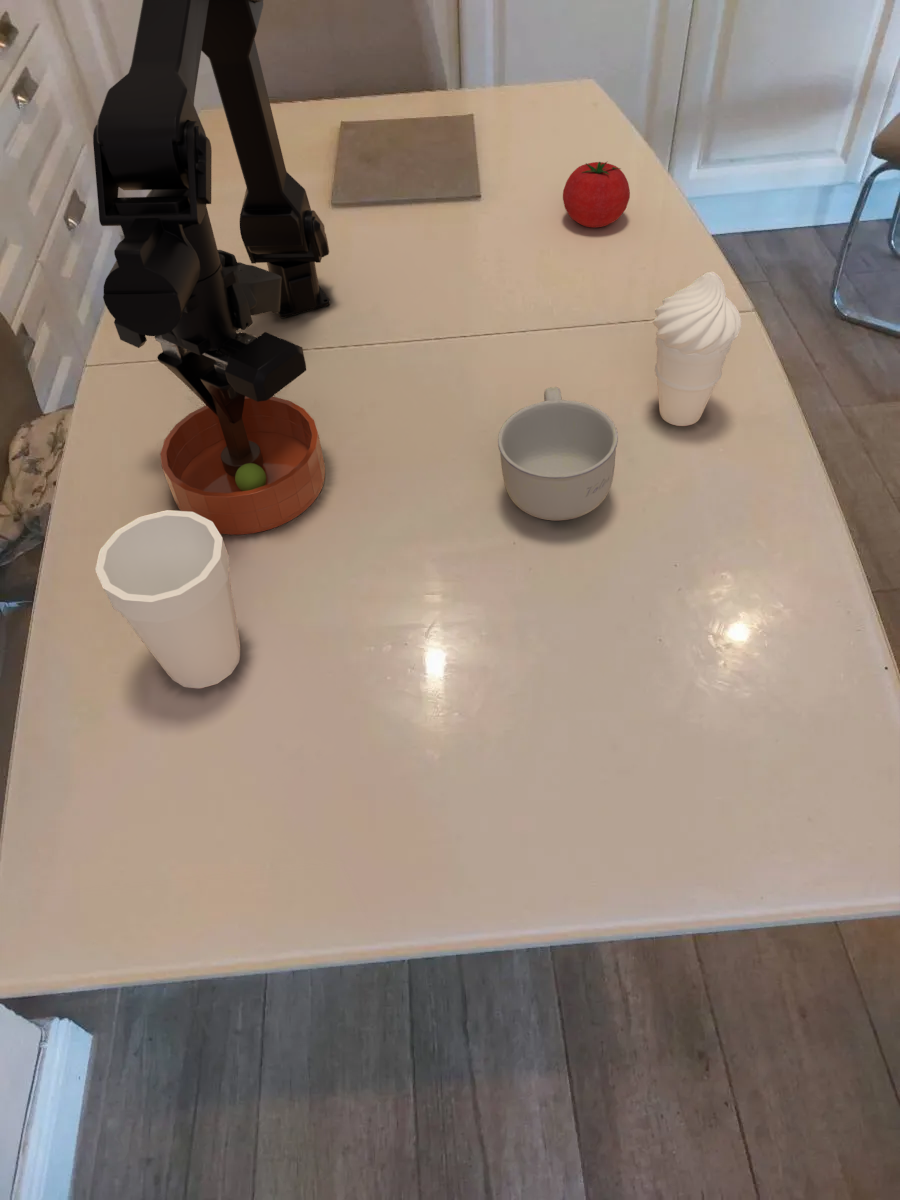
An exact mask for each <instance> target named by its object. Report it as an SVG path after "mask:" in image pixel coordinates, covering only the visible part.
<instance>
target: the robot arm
mask: <svg viewBox="0 0 900 1200" xmlns="http://www.w3.org/2000/svg"><path fill="white" fill-rule="evenodd" d="M263 9H264V0H142V3H141V7H140V14H139V18H138V25H137V31H136V36H135V42H134V48H133V52H132V59H131V64H130V67H129V70H128V72H127V74H126V75H124V77H122V78H121V79H120V80H118V81H117V82H116V83H115V84H114V85H112V86H111V87H110V88H109V89H108V91H107V93H106V94H105V98H104V100H103V103H102V107H101V109H100V112H99V115H98V118H97V123H96V125H95V127H94V128H93V134H92V138H93V139H92V144H93V146H92V147H93V156H94V169H95V170H94V171H95V183H96V193H97V194H96V196H97V205H98V207H97V208H98V220H99V224H100V226H102V227H120V228H121V230H122V234H123V237H124V238H123V239H122V240H121V241H120V242H118V243H117V245H116V247H115V249H114V251H113V253H114V257H115V262H114V264H113V265H112V267H111V269H110V270H109V273H108V274H107V276H106V277H105V280H104V283H103V296H102V298H103V302H104V305H105V306H106V309H107V310H108V313H110V315H111V316H112V318H113V319H114V321H113V323H114V326H115V329H116V332H117V335H118V338H119V340H120V341H122V342H125V343H127V344H128V345H131V346H133V347H135V348H138V349H140V348H141V347H143V346H144V345H145V344H146V342H147V341H148V339H147V337H154V339H155V340H154V341H156V342H158V343H159V344H160V346H161V350H162V352H160V353H158V355H157V361H158V362H159V363H160V364H162V365H164V366H165V367H166V368H167V369H168V370H169V371H170V372H171V373H172V374H174V376H176V377H177V378H178V379H179V380H180V381H181V382H182V383H183V384H184V385H185V386H187V388H188V389H189V390H190V391H192V392H193V394H194V395H195V396H197V398H199V400H200V401H202V403H204V404H205V406H206V405H207V406H208V407H209V408H210V409H211V410H212V411H213V412H214V413H215V414H216V415H217V412H216V408H215V405H214V402H213V398H214V400H215V401H216V402H217V404H218V405H219V407H220V408H221V410H222V411H223V413H224V414H225V415H226V416H227V418H228V419H229V420H230V421H231V422H232V423H234V424H235V423H237V422H238V421H239V420H240V419H241V418H242V413H243V407H244V400H245V396H246V397H248V398H251V399H253V400H255V401H257V402H260V401H267V400H268V399H270V398H271V397H272V396H273V397H275V395H276V394H277V393H279V392H281V391H282V390H283V389H284V388H285V387H287V386H288V385H289V384H291V383H292V382H293V381H295V380H296V379H297V378H298V377H300V376H301V375H302V374H304V373H305V372H306V371H307V363H306V358H305V353H304V348H303V347H302V346H300V345H298V344H296V343H293V342H291V341H289V340H287V339H285V338H281V337H279V336H276V335H274V334H271V333H269V332H267V331H264V332H263V333H261V334H260V335H259V336H257V337H256V336H254V335H251V334H249V333H246V332H238V330H243V331H244V330H246V329H247V328H249V327H250V326H253V324H254V322H253V317H252V316H257V315H263V314H267V313H271V314H277V315H278V316H279V317H280V318H281V319H285V318H288V317H292V316H296V315H299V314H302V313H306V312H310V311H314V310H316V309H317V310H318V309H319V308H323V307H327V306H329V305H330V304H331V302H330V298H329V297H328V296H327V294H326V293H325V292H324V290H323V288H322V287H321V286H320V284H319V279H318V272H317V266H316V264H319V263H321V262H322V258H325V257H327V256H329V254H330V247H329V242H328V238H327V233H326V230H325V225H324V223H323V221H322V220H321V218H320V217H319V215H318V214H317V213H316V211H315V210H312V208H311V203H310V201H309V198H308V194H307V191H306V189H305V187H303V186H302V185H301V184H300V182H299V181H297V180H296V179H295V178H294V177H293V176H292V175H290V174H289V172H288V171H287V168H286V164H285V160H284V155H283V151H282V148H281V143H280V140H279V136H278V130H277V127H276V123H275V119H274V114H273V110H272V106H271V103H270V98H269V94H268V90H267V86H266V81H265V77H264V73H263V69H262V63H261V61H260V56H259V52H258V48H257V44H256V35H257V31H258V28H259V25H260V20H261V16H262V12H263ZM202 53H203V54H204V55H205V56H206V57H207V58H208V60H209V62H210V66H211V70H212V74H213V77H214V80H215V83H216V87H217V89H218V93H219V94H218V95H219V97H220V101H221V104H222V107H223V111H224V114H225V118H226V121H227V124H228V128H229V131H230V132H229V133H230V135H231V139H232V141H233V145H234V146H233V147H234V149H235V152H236V156H237V160H238V163H239V166H240V169H241V174H242V176H243V180H244V184H245V187H246V189H245V193H244V197H243V201H242V206H241V208H240V209H241V210H240V213H239V232H240V237H241V240H242V243H243V245H244V248H245V250H246V253H247V255H248V258H249V261H250V263H251V264H253V265H251V264H246V263H243V262H241V261H240V262H239V261H237V258H236V255H234V253H231V252H229V251H225V250H223V249H218V246H217V242H216V238H215V234H214V230H213V227H212V223H211V220H210V219H211V218H210V215H209V211H208V207H207V205H212V164H213V163H212V157H213V156H212V150H213V149H212V143H211V141H210V138H208V136H207V134H206V131H205V128H204V126H203V124H202V122H201V119H200V117H199V114H198V112H197V109H196V106H195V96H196V89H197V82H198V75H199V71H200V63H201V58H202V57H201V56H202ZM119 188H120V189H121V190H122V191H149V192H148V194H147V195H146V196H127V197H126V196H123V197H119ZM260 263H261V264H263V263H265V264H266V265H267V269H264V268H261V267H259V266H255V265H254V264H260ZM212 397H213V398H212ZM217 416H218V415H217Z"/></svg>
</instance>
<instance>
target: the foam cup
mask: <svg viewBox="0 0 900 1200" xmlns="http://www.w3.org/2000/svg"><path fill="white" fill-rule="evenodd" d="M230 560H231V559H230V556H229V553H228V550H227V547H226V545H225V541H224V538H223V536H222V534H221V533H219V531H218V530H217V528H216V527H215V525H214V523H213V522H212V521H210V520H208V519H206V518H204V517H202V516H200V515H198V514H196V513H194V512H188V511H180V510H170V509H166V510H162V511H158V512H154V513H149V514H145V515H141V516H138V517H136V518H135V519H133V520H132V521H130V522H128V523H127V524H124V525H123V526H122V527H120V528H118V529H116V530H115V531H114V532H113V533H112V535H111V536H110V537H109V538H108V539H107V541H106V542H105V543H104V544H103V545H102V547H101V548H100V549H99V552H98V557H97V560H96V564H95V569H94V571H95V574H96V575H97V578H98V580H99V582H100V585H101V587H102V588H103V591H104V592H105V595H106V596H107V599H108V600H109V602H110V604H111V606H112V608H113V610H115V611H117V612H118V613H120V615H121V616H122V617H123V618H124V619H125V621H126V622H127V623H128V625H129V626H130V627H131V629H132V630H133V631H134V633H135V634H136V635H137V637H138V638H139V639H140V641H141V642H142V643H143V644H144V645H145V647H146V648H147V650H148V651H149V652H150V653H151V655H152V656H153V658H155V660H156V661H157V662H158V664H159V665H160V666H161V668H162V669H163V670H164V672H165V673H166V674H167V675H168V677H170V678H171V680H172V681H173V682H175V683H176V684H178V685H180V686H181V687H184V688H189V689H205V688H207V687H211V686H214V685H217V684H219V683H221V682H222V681H223V680H225V679H226V678H228V677H229V676H230V675H232V674H233V672H234V670H235V669H236V667H237V666H238V665H239V663H240V658H241V641H240V634H239V628H238V621H237V616H236V615H237V614H236V609H235V602H234V601H235V600H234V595H233V589H232V583H231V582H232V581H231V576H230V575H231V574H230Z"/></svg>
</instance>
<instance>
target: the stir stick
mask: <svg viewBox="0 0 900 1200" xmlns="http://www.w3.org/2000/svg"><path fill="white" fill-rule="evenodd" d="M212 398H213V397H212ZM213 402H214V405H215V408H216V412H217V415H218V418H219V422H220V425H221V428H222V432H223V435H224V438H225V442H226V445H227V446H226V447H225V448H224V449H223V450H222V452H221V460H222V464H223V467H224V470H225V471H226V473H228V474H229V475H231V476H234V477H235V475H236V472H237V470H238V469H239V468H240V467H241V466H242V465H244V464H247V463H253V464H257V465H259V466H260V467H262V465H263V457H262V454H261V450H260V447H259V446H258V445H257V444H256V443H255V442H252V441H248V438H247V434H246V430H245V427H244V423H243V420H242V418H241V419H240V420H239V421H238V422H237V423H235V424H234V423H232V422H231V421H230V420H229V419H228V418H227V416H226V415H225V414H224V413H223V411H222V410H221V408H220V407H219V405H218V404H217V402H216V401H215V400H214V398H213Z"/></svg>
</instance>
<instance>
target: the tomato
mask: <svg viewBox="0 0 900 1200" xmlns="http://www.w3.org/2000/svg"><path fill="white" fill-rule="evenodd" d="M608 162H609V161H606V162H603V161H595V162H588V163H587V162H585V164H581V165H579V166H578V167H576V169H574V170H573V171H572V172H571V173H570V175H569V177H568V178H567V180H566V182H565V185H564V187H563V190H562V191H563V192H562V201H563V205H564V209H565V212H566V213H567V214H568V215H569V217H570V219H572V220H573V221H574V222H576V223H578V224H579V225H582V226H583V227H586V228H602V227H606V226H608V225H610V224H612V223H614V222H615V221H617V220H618V219H620V217H621V216H622V215H623V213H624V212H625V211H626V209H627V207H628V205H629V201H630V198H631V191H630V185H629V181H628V180H627V179H628V178H627V177H626V175H625V173H624V172H623V171H622V170H621V169H622V168H621V167H618V166H616V165H614V164H611V163H608Z"/></svg>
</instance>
